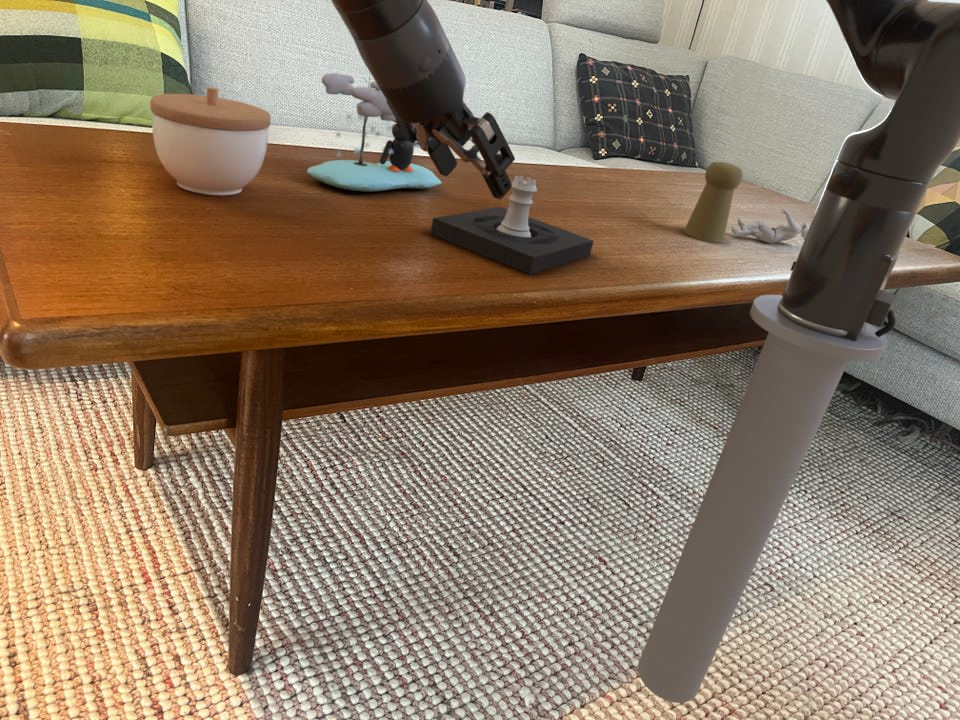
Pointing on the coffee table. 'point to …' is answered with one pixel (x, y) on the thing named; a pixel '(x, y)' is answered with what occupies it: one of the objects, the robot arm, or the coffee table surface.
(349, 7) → the robot arm
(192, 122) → the lidded bowl
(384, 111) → the penguin figurine
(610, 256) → the coffee table surface
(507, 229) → the rook chess piece
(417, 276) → the coffee table surface
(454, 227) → the pad
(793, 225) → the soldier figure
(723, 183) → the brown game pawn
